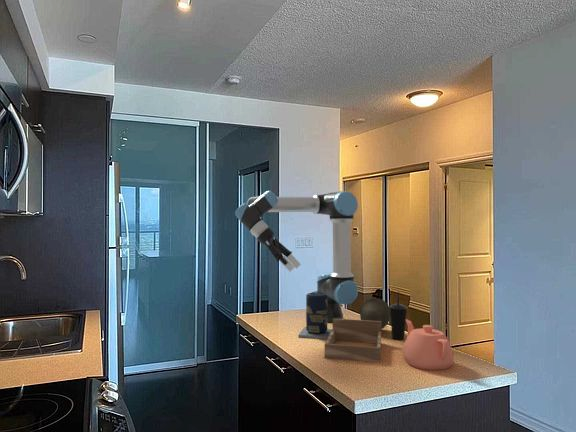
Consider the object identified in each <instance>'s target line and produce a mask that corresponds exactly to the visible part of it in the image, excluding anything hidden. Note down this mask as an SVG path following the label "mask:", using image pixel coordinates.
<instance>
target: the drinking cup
mask: <svg viewBox="0 0 576 432" xmlns="http://www.w3.org/2000/svg"><path fill="white" fill-rule="evenodd" d="M388 306H389V309H390V324H391V325H390V326H391V337H392V339H393V340H395V341H403V340H404V339H405V334H406V333H405V331H406V324H407V322H406V320H405V319H407V313H408V312H407V310H408V306H406V305H404V304H401V303H400V291H397V303H394V304H391V305H388Z"/></svg>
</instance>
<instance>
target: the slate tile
mask: <svg viewBox="0 0 576 432" xmlns="http://www.w3.org/2000/svg"><path fill="white" fill-rule="evenodd" d="M332 329H333V328H327V331H326V332H324V333H311V332H308V331H307V330H306V327H303V328H302V330H301V331H300V332H299V333H298V336H297V337H298V338H301V339H303V338H304V339H305V338H306V339H320V340H321V339H322V340H327V339H328V337H329V335H330V333H331V331H332Z"/></svg>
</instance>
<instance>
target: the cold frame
mask: <svg viewBox="0 0 576 432" xmlns="http://www.w3.org/2000/svg"><path fill="white" fill-rule="evenodd" d="M331 329H332V331H331V333H330V335H329V337H328V339H326V341H325V343H324V352H323V353H324V356H323V357H324V359H332V360H333V359H335V360H343V361H345V360H346V361H357V362H358V361H359V362H372V363H381V356H382V329H381V321H369V320H361V319H349V318H343V319H335V318H333V322H332V328H331ZM335 342H351V343H353V342H354V343H362V344H363V343H365V344H376V346H368V345H366V346H365V345H353V344H352V345H351V344H339V343H335Z"/></svg>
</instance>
